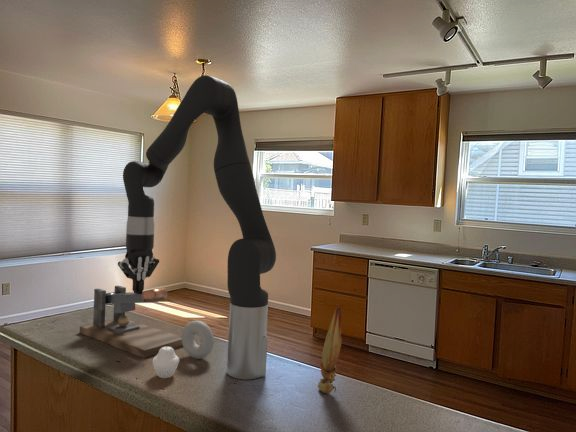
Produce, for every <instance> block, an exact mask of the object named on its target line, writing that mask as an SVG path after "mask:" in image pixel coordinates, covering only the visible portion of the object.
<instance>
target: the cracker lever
mask: <svg viewBox="0 0 576 432" xmlns="http://www.w3.org/2000/svg"><path fill="white" fill-rule="evenodd" d="M167 297H168V290H167V288H166V287H159V288H154V289H149V290H143V292H142V293H138V294H137V293H134V291H132V292H126V293H118V292H114V291H112V292H106V304H105V305H110V304H113V312H114V311H115V313H123V312H125V313H128V312H132V311H136V304H144V303H145V304H151V303H156V302H160V301H161V302H162V301H165V299H167Z"/></svg>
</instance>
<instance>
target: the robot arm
mask: <svg viewBox="0 0 576 432" xmlns="http://www.w3.org/2000/svg"><path fill="white" fill-rule="evenodd" d="M203 114H206V115H209V116H211V117H212V119H213V121H214V124H215V129H216V133H217V146H216V150H215V153H214V158H213V171H214V174H215V179H216V183H217V184H216V185H217V188H218V191H219V194H220V195H221V197H222V198H223V201H224V202H225V203H226V204H227V206H228V207H229V209H230V211H231V212H232V213H233V214H234V216H235V218H236V220H237V222H238V224H239V227H240V230H241V235H242V238H239V239H236V240H235V241H234V242H233V243H232V244H231V245H230V247H229V250H228V253H227V254H228V255H227V291H228V294H229V297H230V300H229V317H228V318H229V319H228V338H227V339H228V340H227V354H226V355H227V359H226V361H227V362H226V373H227V375H228V376H230V377H231V378H233V379H238V380H254V379H257V378H261V377H262V378H263V377H266V376H267V375H266V374H267V357H268V356H267V355H268V341H269V340H268V339H269V338H268V335H267V328H268V309H269V307H268V306H269V292H267V290H264V289H263V288H262V287H261V275H262V274H266V273H268V272H270V271H271V270H273V268H274V267H275V263H276V262H277V261H276V260H277V252H276V247H275V244H274V241H273V238H272V236H271V233H270V230H269V227H268V225H267V222H266V219H265V217H264V213H263V208H262V205H261V202H260V198H259V194H258V190H257V187H256V181H255V178H254V177H255V176H254V173H253V169H252V165H251V161H250V158H249V155H248V151H247V146H246V142H245V139H244V138H245V137H244V134H243V130H242V129H243V128H242V124H241V118H240V109H239V104H238V98H237V94H236V91H235V89H234V88H233V86H232V85H231V84H230V83H229V82H226V81H225V80H222V79H220V78H217V77H214V76H212V75H208V74H207V75H206V74H204V75H201V76H199V77H197V78H196V79H195V80H194V81H193V82H192V83H191V85H190V87H189V88H188V90H187V91H186V93H185V95H184V96H183V98H182V100H181V102H180V103H179V105H178V107H177V108H176V110H175V111H174V114H172V117H171V118H170V120H169V121H168V123H167V125H166V126H165V127H164V129H163V130H162V132H160V134H158V136H157V137H156V138H155V139H154V141H153V142H152V143H151V145H150V146H149V147H148V148H147V149H146V152H145V156H146V159H147V161H148V162H144V161H143V162H142V161H136V160H135V161H130V162H128V163H127V164H126V165H125V167H124V168H123V171H122V180H123V186H124V188H125V193H126V198H127V202H128V203H127V204H128V205H127V221H126V229H125V231H126V233H125V234H126V235H125V236H126V237H125V249H126V253H125V255H124V259H123V260H122V261H118V262H117V266H118V267H119V269H120V270H121V271H122V273H123V274H124V276H125V277H126V278H127V279H130V280H132V292H134V293H137V294H138V293H142V292H143V291H145V280H146V279H147V278H150V277H151V276H152V274H153V273H154V271H155V270H156V268H157V267H158V264H159V263H160V259H158V258H156V257H155V256H154V253H153V249H154V245H155V244H154V243H155V217H154V216H155V215H154V214H155V199H154V197H152V196H149V195H146V193H145V190H144V188H153V187H154V188H155V187H156V186H158V184H160V183H161V181H162V180H163V178H164V176H165V174H166V172H167V170H168V167H169V165H170V164H171V163H172V162H173V161H174V160H175V158H177V156H178V155H179V154H180V153H181V152H182V150H183V149H184V147H185V145H186V143H187V137H188V133H189V131H190V128H191V126H192V125H193V124H194V122H195V121H196V120H197V119H198V118H199V117H200V116H201V115H203Z"/></svg>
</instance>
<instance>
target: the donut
mask: <svg viewBox="0 0 576 432" xmlns="http://www.w3.org/2000/svg"><path fill="white" fill-rule="evenodd" d="M195 334H196V335H198V336H199V338H200V345H199V344H197V342H196V340H195ZM181 338H182V344H183V346H182V348H183V349H184V351H185V353H186V354H188V356H190V357H191V358H193V359H197V360H201V359H204V358H207V357H208V356H209V355H210V354H211V353H212V351H213V349H214V344H215V336H214V333H213V331H212V329H211V327H210V326H209V325H208V324H207V323H206V322H204V321H201V320H192V321H189V322H188V323H187V324H185V325H184V327H183V330H182V331H181Z"/></svg>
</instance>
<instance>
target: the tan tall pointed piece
mask: <svg viewBox="0 0 576 432" xmlns="http://www.w3.org/2000/svg"><path fill="white" fill-rule="evenodd" d="M342 316H343V313H342V310H341V308H340V307H339V306H337V307H336V308H335V310H334V313H333V317H332V318H331V321H330V324H329V328H328V330H327V333H326V336H325V340H324V344H323V350H322V353H321V361H322V362H320V364H319V368H320V374H321V376H322V378H320V381H318V384H317V388H318V390H319V391H321V392H322V393H324V394H326V395H327V394H328V395H329V394H331V393H332V392H333V390H334V392H336V390H337V389H336V386H334V385H333V382H334V381H336V379H335V378H336V376H337V374H336V372H337V369H338V368H337V365H338V364H337V361H338V359H339V355H340V352H341V348H342V342H343V336H342Z"/></svg>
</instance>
